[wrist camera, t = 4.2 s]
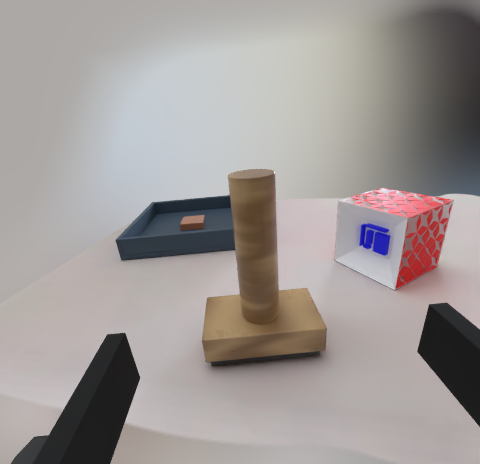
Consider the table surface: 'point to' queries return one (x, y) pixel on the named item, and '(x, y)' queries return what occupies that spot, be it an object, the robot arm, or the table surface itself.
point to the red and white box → (391, 234)
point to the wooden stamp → (259, 288)
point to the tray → (178, 229)
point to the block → (192, 222)
